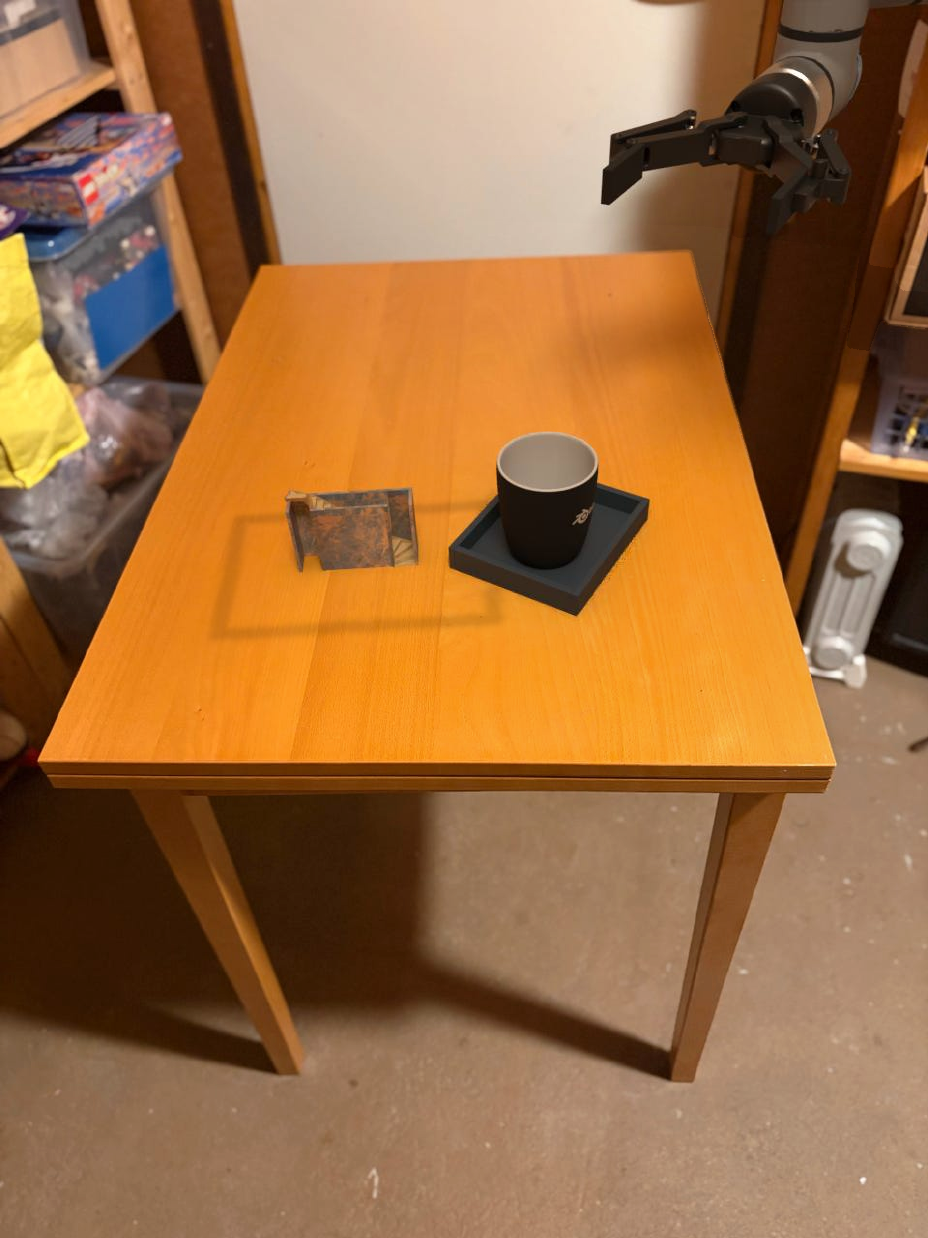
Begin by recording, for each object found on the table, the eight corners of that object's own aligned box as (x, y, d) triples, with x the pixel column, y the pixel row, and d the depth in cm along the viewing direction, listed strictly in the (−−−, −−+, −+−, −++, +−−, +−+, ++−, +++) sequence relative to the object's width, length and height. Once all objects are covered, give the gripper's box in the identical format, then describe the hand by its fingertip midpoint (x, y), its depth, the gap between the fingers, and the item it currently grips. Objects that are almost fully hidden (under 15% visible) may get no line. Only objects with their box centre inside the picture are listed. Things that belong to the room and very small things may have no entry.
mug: (579, 588, 84) (584, 499, 77) (485, 569, 86) (482, 481, 79) (609, 508, 92) (617, 420, 85) (522, 492, 94) (523, 406, 87)
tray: (647, 519, 91) (650, 498, 90) (577, 616, 82) (578, 596, 81) (528, 480, 97) (528, 460, 95) (449, 567, 88) (448, 547, 86)
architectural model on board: (299, 578, 88) (280, 497, 81) (302, 557, 90) (284, 476, 83) (418, 571, 88) (409, 489, 81) (418, 550, 90) (410, 468, 83)
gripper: (907, 182, 82) (837, 280, 69) (644, 142, 92) (542, 222, 79) (933, 87, 76) (864, 175, 64) (651, 55, 86) (544, 127, 74)
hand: (686, 201), depth 72 cm, fingers open, 13 cm apart
